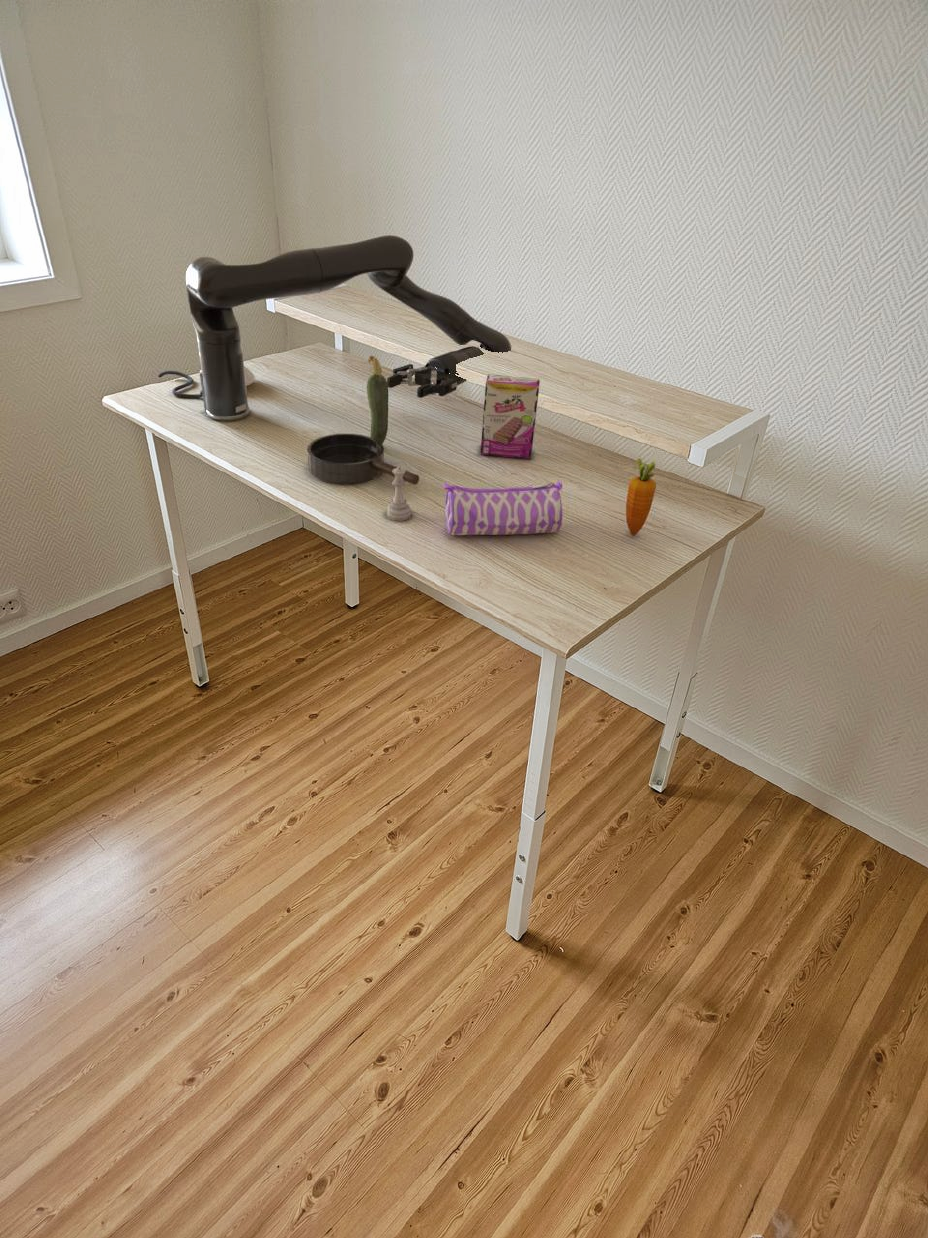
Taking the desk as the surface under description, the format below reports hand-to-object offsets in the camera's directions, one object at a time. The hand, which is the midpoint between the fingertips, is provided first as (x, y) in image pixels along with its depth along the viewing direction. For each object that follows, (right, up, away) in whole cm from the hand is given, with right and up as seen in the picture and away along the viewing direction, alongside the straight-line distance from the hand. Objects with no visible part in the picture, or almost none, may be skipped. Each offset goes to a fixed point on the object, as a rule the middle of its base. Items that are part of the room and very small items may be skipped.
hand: (403, 387), depth 178 cm
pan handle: (-1, -22, -16) cm, 27 cm away
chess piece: (+1, -30, -23) cm, 38 cm away
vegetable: (-5, -13, +1) cm, 14 cm away
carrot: (+44, -34, -25) cm, 61 cm away
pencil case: (+20, -34, -26) cm, 47 cm away
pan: (-11, -19, -8) cm, 23 cm away
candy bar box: (+22, -14, +2) cm, 26 cm away
